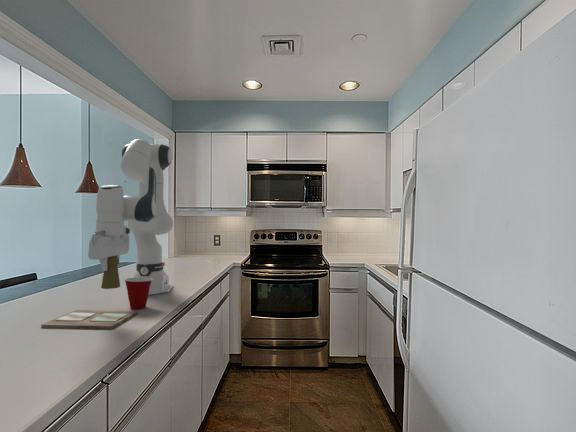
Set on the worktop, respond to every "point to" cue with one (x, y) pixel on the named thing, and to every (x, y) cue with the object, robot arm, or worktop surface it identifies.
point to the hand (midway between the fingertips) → (109, 269)
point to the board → (90, 319)
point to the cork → (111, 274)
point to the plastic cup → (138, 291)
